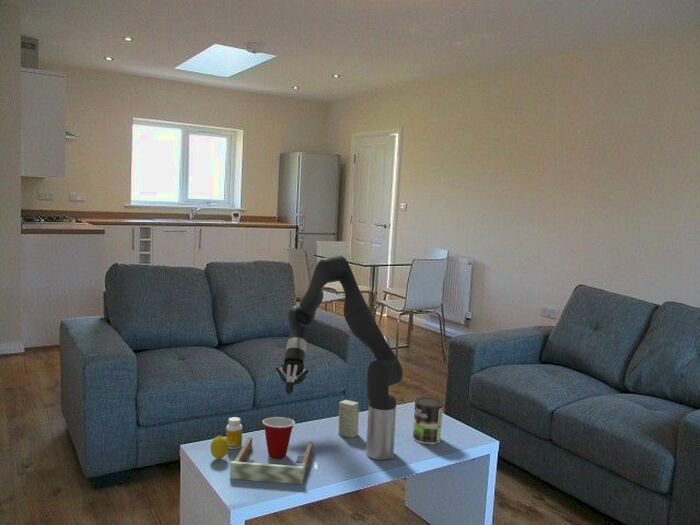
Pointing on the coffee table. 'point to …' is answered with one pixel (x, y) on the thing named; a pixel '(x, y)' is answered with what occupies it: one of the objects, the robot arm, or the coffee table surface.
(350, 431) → the skincare box
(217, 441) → the lemon
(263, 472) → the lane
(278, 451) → the plastic cup
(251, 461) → the pads
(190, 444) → the coffee table surface
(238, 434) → the supplement bottle
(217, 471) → the coffee table surface
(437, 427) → the coffee can
